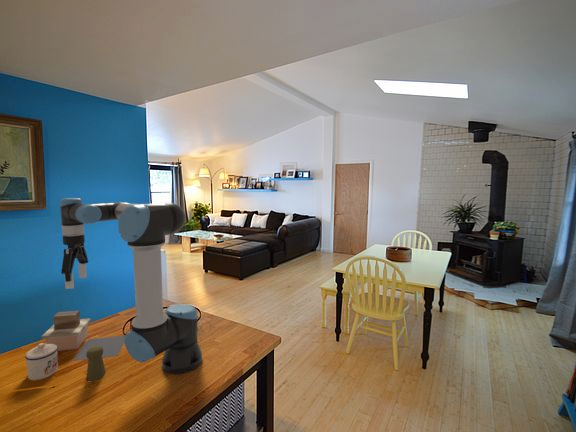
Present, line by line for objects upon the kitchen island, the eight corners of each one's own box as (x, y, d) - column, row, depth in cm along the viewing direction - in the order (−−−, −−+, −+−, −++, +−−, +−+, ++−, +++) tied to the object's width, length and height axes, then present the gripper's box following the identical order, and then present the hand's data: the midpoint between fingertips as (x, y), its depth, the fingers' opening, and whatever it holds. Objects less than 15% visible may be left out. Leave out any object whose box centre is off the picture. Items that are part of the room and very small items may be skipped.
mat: (117, 356, 119) (117, 355, 119) (72, 361, 115) (72, 360, 115) (128, 336, 134) (128, 335, 134) (88, 340, 130) (88, 339, 130)
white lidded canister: (49, 380, 104) (47, 350, 103) (20, 382, 102) (17, 352, 101) (68, 360, 116) (66, 332, 114) (42, 361, 114) (40, 334, 113)
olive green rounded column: (109, 372, 109) (108, 345, 108) (94, 383, 103) (92, 354, 102) (98, 369, 111) (96, 342, 110) (82, 379, 105) (80, 350, 104)
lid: (78, 335, 121) (77, 319, 120) (41, 339, 118) (40, 322, 117) (90, 320, 133) (89, 305, 133) (57, 323, 130) (56, 308, 129)
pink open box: (77, 350, 123) (76, 334, 122) (46, 353, 120) (45, 337, 119) (88, 336, 133) (87, 322, 132) (60, 339, 130) (59, 324, 129)
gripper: (75, 229, 134) (78, 274, 136) (47, 240, 110) (52, 294, 113) (94, 229, 136) (96, 273, 138) (70, 240, 112) (74, 292, 115)
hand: (76, 282), depth 125 cm, fingers open, 13 cm apart
